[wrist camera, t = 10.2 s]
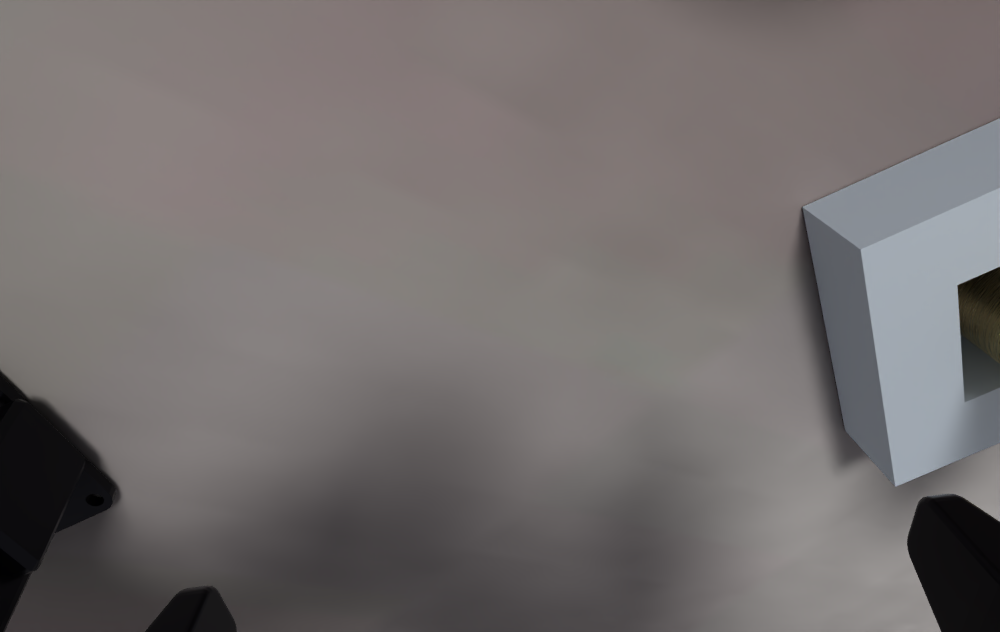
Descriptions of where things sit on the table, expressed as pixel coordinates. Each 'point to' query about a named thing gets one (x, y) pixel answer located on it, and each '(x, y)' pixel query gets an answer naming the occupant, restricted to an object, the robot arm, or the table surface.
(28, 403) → the robot arm
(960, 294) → the pin
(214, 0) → the table surface
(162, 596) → the table surface
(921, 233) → the socket block
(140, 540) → the table surface
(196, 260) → the table surface
